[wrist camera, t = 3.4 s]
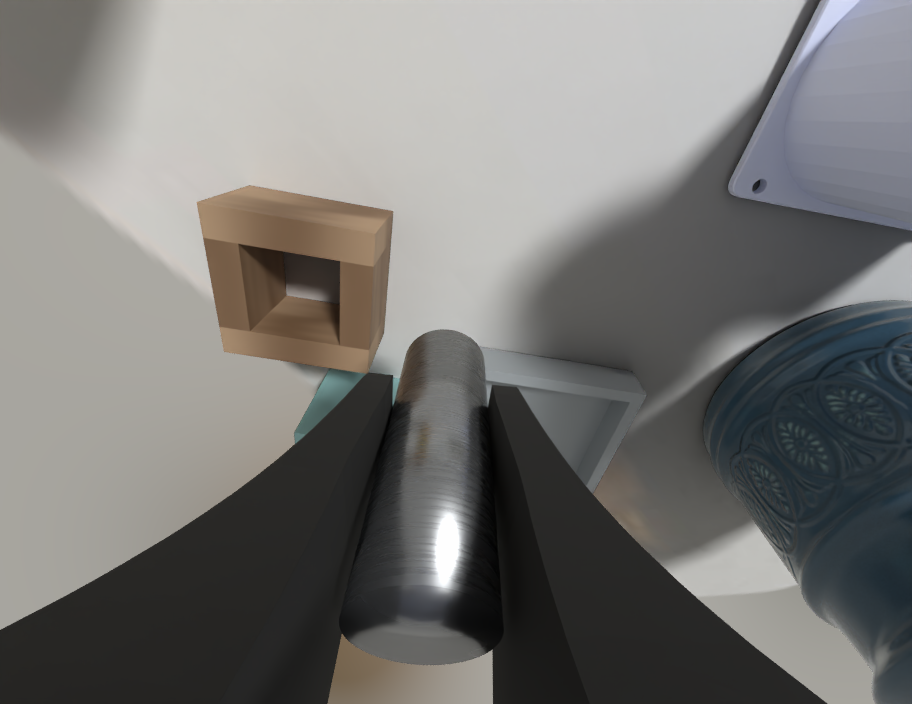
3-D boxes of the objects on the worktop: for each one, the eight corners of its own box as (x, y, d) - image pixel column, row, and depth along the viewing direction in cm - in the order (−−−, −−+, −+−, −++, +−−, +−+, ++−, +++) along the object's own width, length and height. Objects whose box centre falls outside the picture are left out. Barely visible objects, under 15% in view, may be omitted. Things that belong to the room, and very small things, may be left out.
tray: (632, 371, 20) (647, 394, 18) (569, 495, 25) (577, 522, 24) (440, 340, 19) (437, 361, 18) (418, 473, 25) (414, 500, 23)
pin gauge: (494, 340, 11) (527, 602, 5) (472, 402, 12) (477, 673, 6) (413, 321, 11) (346, 575, 5) (399, 386, 12) (332, 654, 6)
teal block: (412, 380, 21) (397, 448, 17) (404, 438, 23) (390, 511, 19) (330, 367, 21) (293, 433, 16) (330, 428, 23) (299, 499, 19)
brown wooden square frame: (393, 211, 16) (375, 233, 13) (383, 332, 19) (367, 374, 16) (249, 185, 16) (196, 202, 13) (263, 313, 19) (224, 351, 16)
